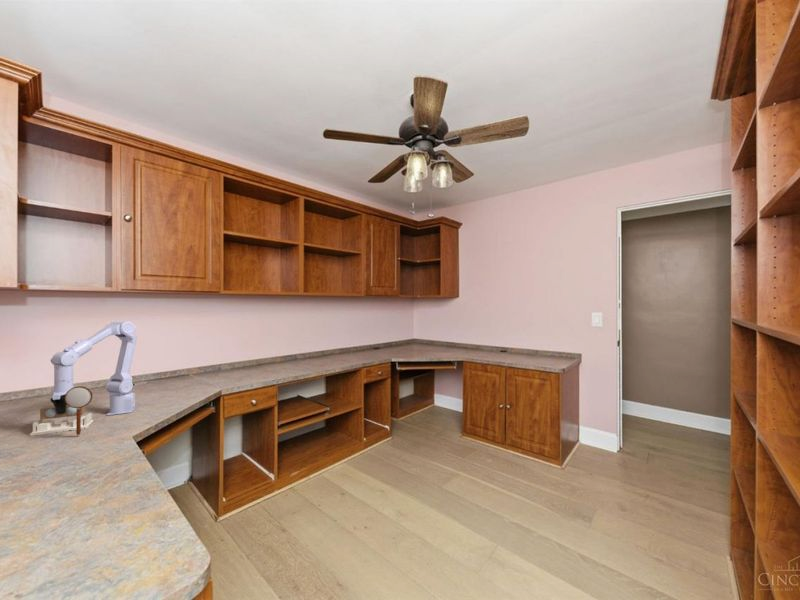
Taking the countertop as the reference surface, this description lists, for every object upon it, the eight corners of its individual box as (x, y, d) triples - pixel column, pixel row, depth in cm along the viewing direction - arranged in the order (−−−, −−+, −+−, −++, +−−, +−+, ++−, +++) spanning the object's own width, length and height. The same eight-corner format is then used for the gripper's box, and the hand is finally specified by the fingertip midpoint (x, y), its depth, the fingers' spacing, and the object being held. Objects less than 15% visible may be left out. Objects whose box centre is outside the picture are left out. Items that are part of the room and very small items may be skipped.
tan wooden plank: (85, 412, 146) (85, 402, 146) (81, 415, 143) (81, 404, 143) (44, 417, 141) (44, 406, 141) (39, 420, 137) (39, 409, 137)
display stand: (93, 421, 150) (93, 411, 150) (85, 428, 142) (85, 418, 142) (41, 428, 142) (41, 417, 142) (30, 435, 134) (30, 424, 134)
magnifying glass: (93, 434, 136) (93, 384, 136) (90, 435, 134) (91, 385, 134) (65, 437, 133) (66, 386, 133) (63, 438, 131) (63, 387, 131)
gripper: (58, 377, 147) (58, 408, 146) (42, 385, 134) (42, 419, 134) (80, 376, 150) (79, 406, 150) (66, 383, 137) (65, 416, 137)
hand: (63, 412), depth 142 cm, fingers closed on tan wooden plank, 4 cm apart
